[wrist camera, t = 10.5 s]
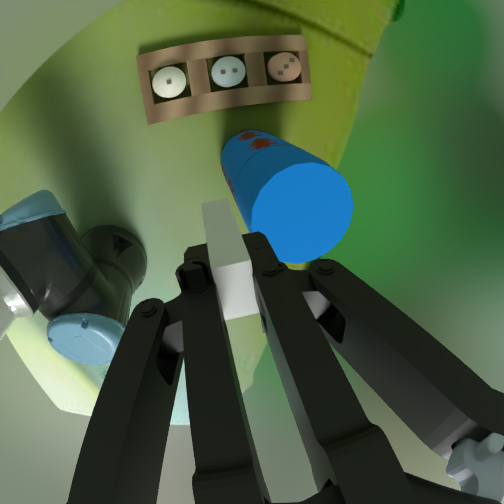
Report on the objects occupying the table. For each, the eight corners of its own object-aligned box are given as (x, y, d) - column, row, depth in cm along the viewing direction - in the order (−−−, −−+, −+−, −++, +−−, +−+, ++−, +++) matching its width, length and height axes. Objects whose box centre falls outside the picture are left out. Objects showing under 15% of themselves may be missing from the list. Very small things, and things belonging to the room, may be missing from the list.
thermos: (211, 140, 44) (233, 181, 23) (271, 121, 44) (346, 147, 23) (231, 196, 50) (266, 279, 29) (286, 177, 50) (358, 243, 29)
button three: (267, 82, 40) (273, 81, 37) (264, 55, 37) (269, 52, 34) (296, 81, 40) (303, 80, 38) (292, 54, 38) (299, 52, 35)
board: (149, 123, 40) (148, 124, 38) (138, 57, 33) (136, 55, 32) (307, 99, 43) (312, 99, 41) (300, 37, 36) (304, 35, 35)
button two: (213, 89, 39) (214, 88, 36) (208, 61, 36) (210, 58, 33) (243, 85, 39) (247, 84, 37) (239, 57, 37) (243, 54, 34)
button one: (157, 101, 38) (155, 101, 35) (152, 72, 35) (150, 71, 32) (188, 94, 38) (188, 93, 36) (183, 65, 36) (183, 63, 33)
